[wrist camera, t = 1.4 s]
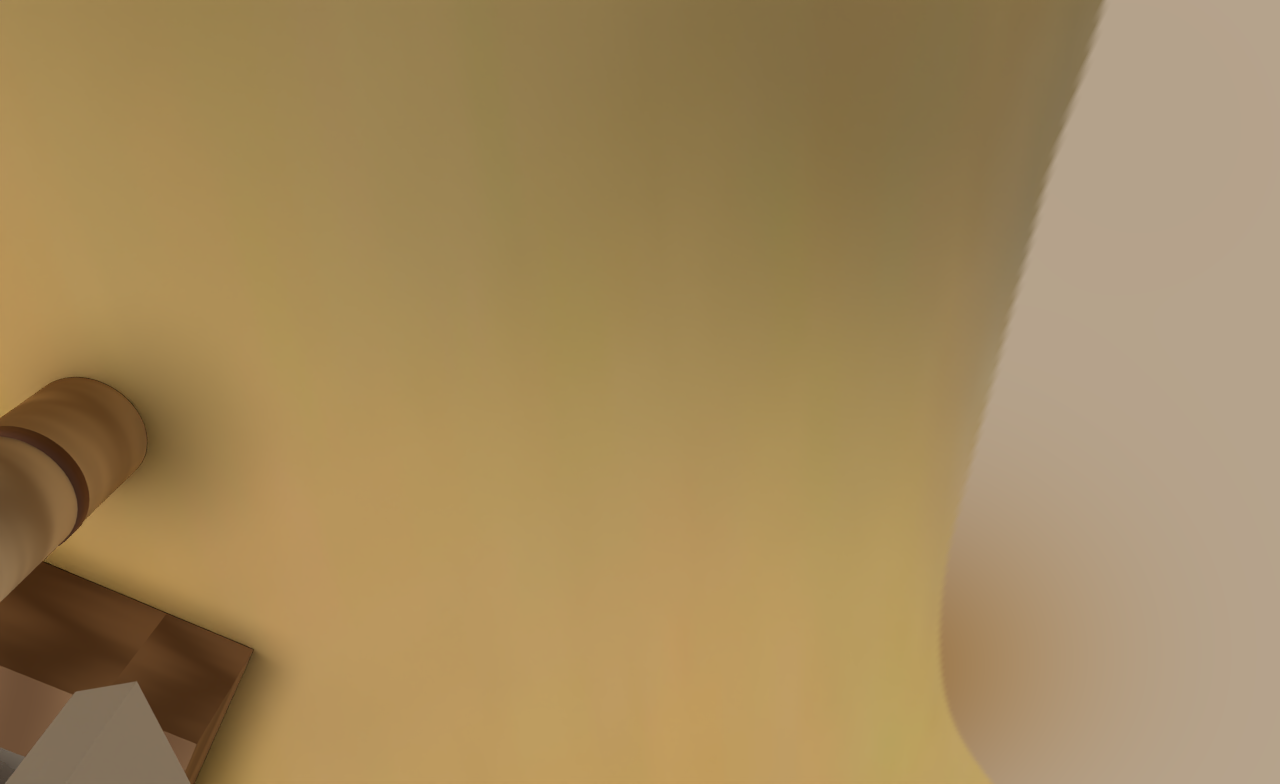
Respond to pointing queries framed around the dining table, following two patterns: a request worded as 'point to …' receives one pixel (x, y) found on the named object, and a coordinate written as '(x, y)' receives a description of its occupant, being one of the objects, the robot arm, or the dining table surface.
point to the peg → (60, 467)
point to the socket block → (109, 662)
